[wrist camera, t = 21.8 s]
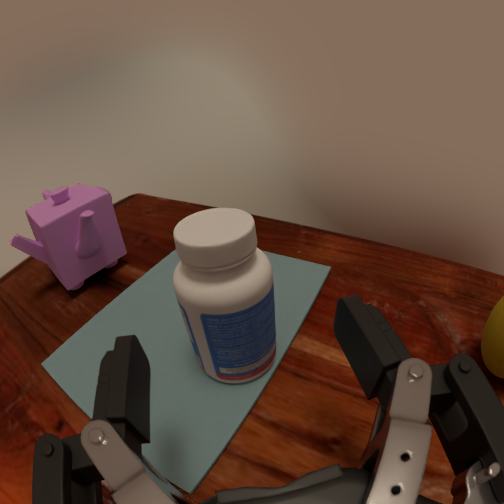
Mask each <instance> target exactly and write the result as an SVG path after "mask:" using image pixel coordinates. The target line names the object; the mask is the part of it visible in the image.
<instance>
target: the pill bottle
mask: <svg viewBox="0 0 504 504" xmlns="http://www.w3.org/2000/svg"><path fill="white" fill-rule="evenodd" d="M174 240H175V245H176V250H177V255H178V257H179V258H180V262H179V263H178V265H177V266H176V268H175V271H174V274H173V287H174V291H175V294H176V298H177V301H178V305H179V308H180V310H181V314H182V317H183V320H184V323H185V326H186V329H187V332H188V335H189V338H190V340H191V343H192V346H193V349H194V352H195V354H196V357H197V359H198V362H199V364H200V365H201V367H202V369H203V370H204V371H205V372H206V373H207V374H208V375H209V376H211V377H212V378H214V379H216V380H218V381H221V382H225V383H243V382H247V381H250V380H253V379H255V378H257V377H259V376H261V375H262V374H263V373H265V372H266V371H267V370H268V369H269V368H270V366H271V365H272V363H273V361H274V359H275V355H276V346H277V345H276V324H275V302H274V282H273V270H272V265H271V262H270V260H269V259H268V257H267V256H266V255H265V254H264V253H263V252H262V251H261V250H260V249H258V248H257V237H256V230H255V222H254V219H253V217H252V216H251V215H250V214H249V213H247V212H245V211H243V210H239V209H235V208H215V209H208V210H204V211H200V212H197V213H194V214H192V215H190V216H188V217H186V218H184V219H183V220H182V221H180V222H179V223H178V224H177V225H176V227H175V229H174Z"/></svg>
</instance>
